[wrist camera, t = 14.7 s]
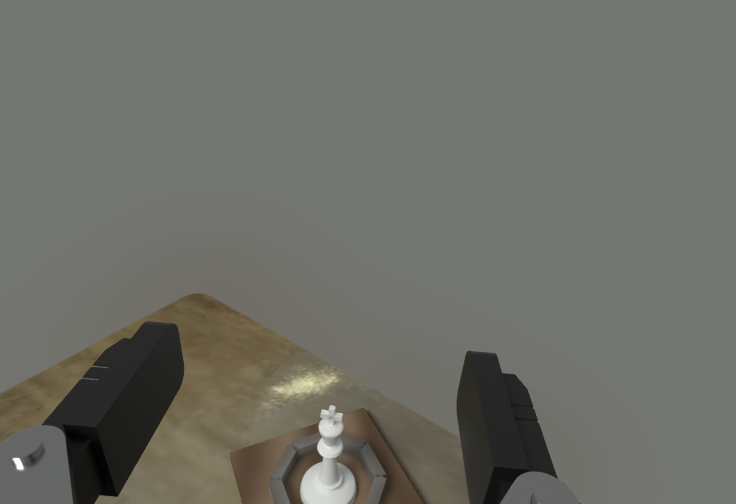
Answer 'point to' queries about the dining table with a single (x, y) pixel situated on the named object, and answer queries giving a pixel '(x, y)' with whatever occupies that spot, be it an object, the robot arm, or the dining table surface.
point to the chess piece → (329, 467)
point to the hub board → (299, 453)
